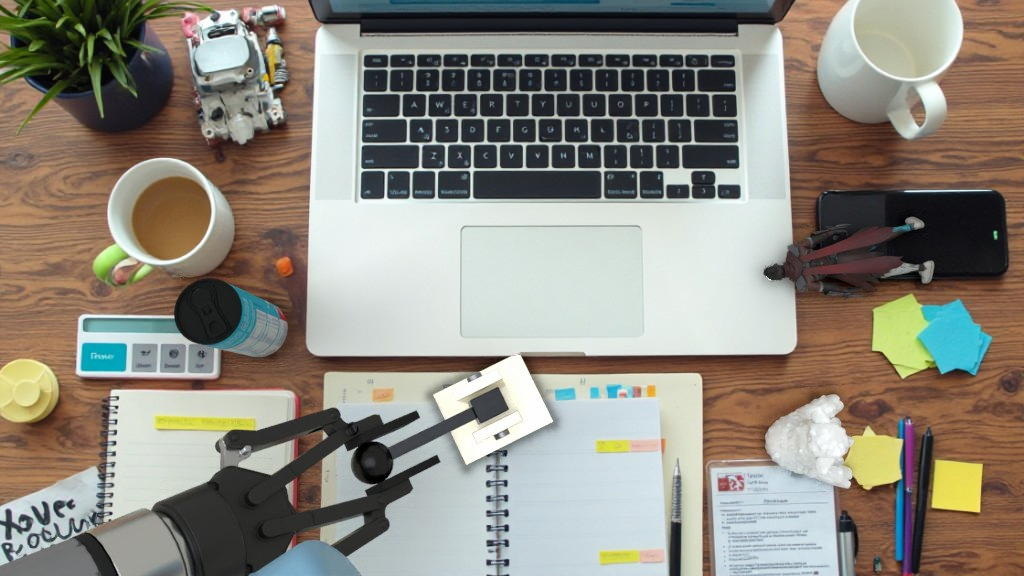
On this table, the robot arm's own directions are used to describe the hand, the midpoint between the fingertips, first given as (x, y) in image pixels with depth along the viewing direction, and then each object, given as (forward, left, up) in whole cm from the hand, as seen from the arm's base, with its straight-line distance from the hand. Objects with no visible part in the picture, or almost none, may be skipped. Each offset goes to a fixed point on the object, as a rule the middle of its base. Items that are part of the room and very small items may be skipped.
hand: (419, 440), depth 70 cm
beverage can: (+10, +19, -11) cm, 24 cm away
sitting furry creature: (+1, -38, -11) cm, 40 cm away
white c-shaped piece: (+3, -6, -11) cm, 13 cm away
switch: (0, -1, +1) cm, 2 cm away
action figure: (+20, -42, -11) cm, 48 cm away
